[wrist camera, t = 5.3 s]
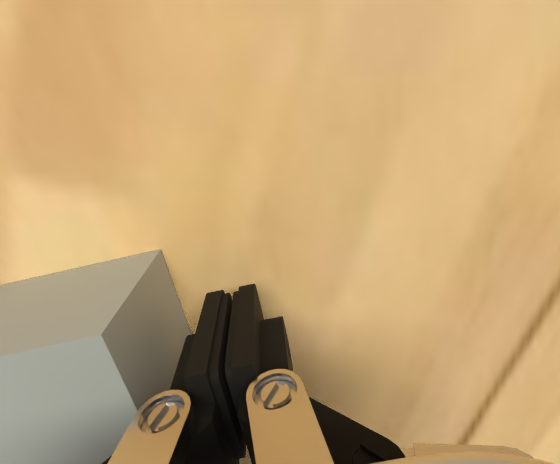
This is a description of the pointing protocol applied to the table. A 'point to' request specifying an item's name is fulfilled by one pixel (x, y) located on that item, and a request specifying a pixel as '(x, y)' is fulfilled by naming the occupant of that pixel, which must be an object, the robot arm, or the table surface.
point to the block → (84, 357)
